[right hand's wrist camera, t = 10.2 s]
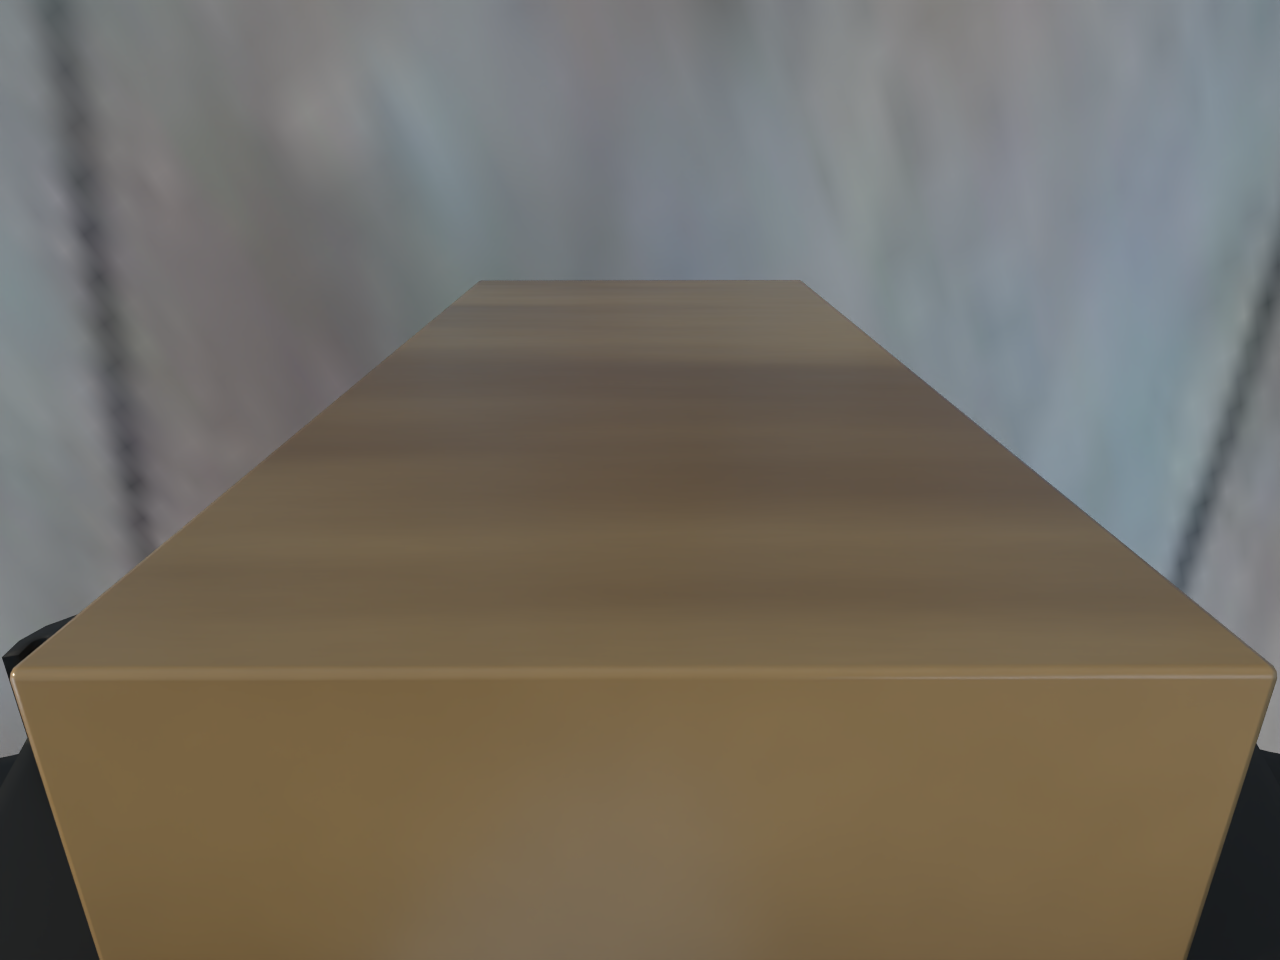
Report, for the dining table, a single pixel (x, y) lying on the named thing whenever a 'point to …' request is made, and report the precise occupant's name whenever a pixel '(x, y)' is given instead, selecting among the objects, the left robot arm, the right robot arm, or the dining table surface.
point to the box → (643, 670)
